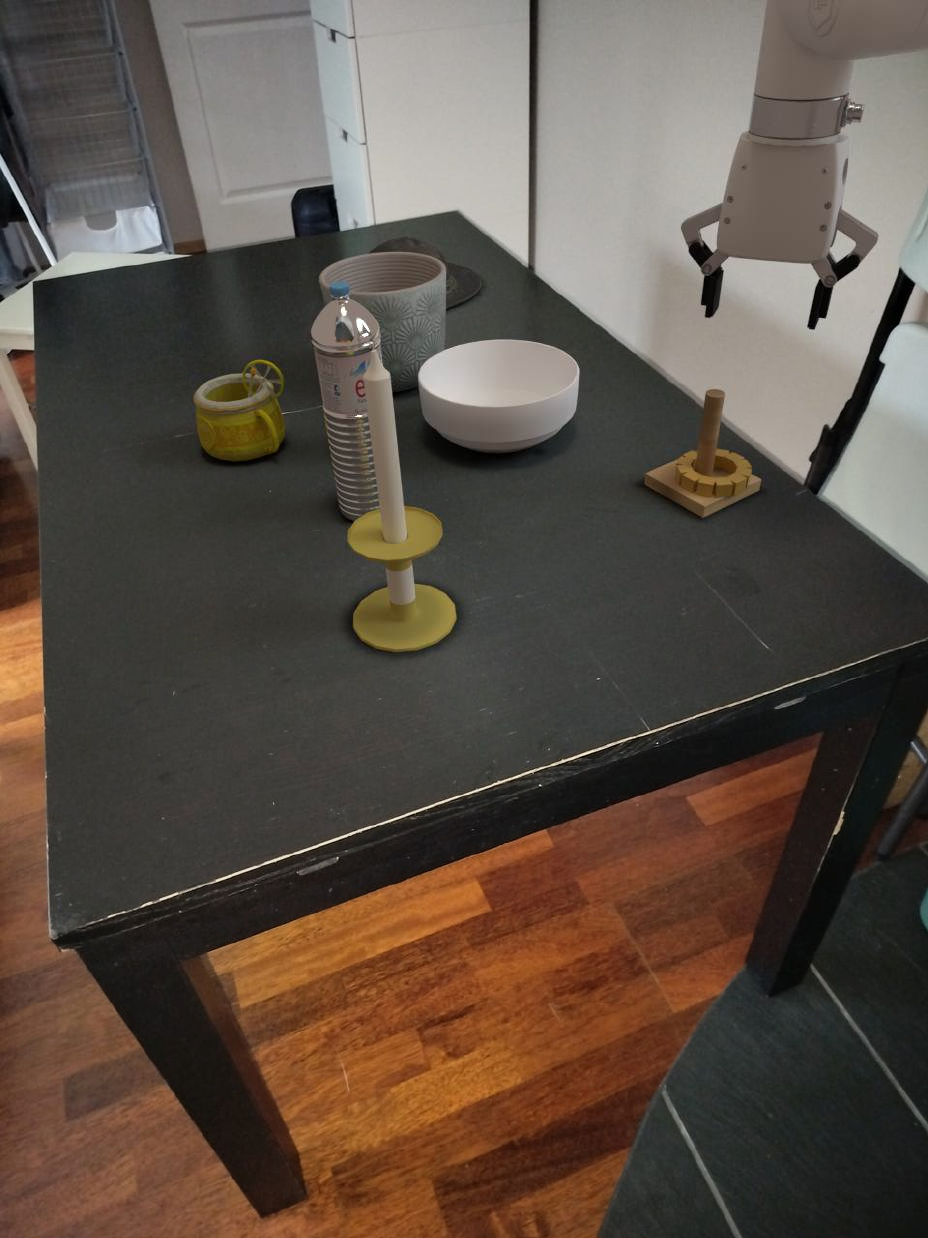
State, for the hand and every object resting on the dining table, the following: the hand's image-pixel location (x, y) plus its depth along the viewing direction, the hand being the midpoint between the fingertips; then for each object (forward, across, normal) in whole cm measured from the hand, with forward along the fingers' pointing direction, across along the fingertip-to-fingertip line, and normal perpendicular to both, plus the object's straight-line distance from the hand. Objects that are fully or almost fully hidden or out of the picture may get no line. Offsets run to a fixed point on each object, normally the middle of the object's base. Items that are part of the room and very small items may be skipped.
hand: (761, 318), depth 84 cm
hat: (+20, +67, -47) cm, 85 cm away
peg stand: (+20, +3, 0) cm, 20 cm away
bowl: (+20, +30, -4) cm, 36 cm away
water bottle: (+20, +37, +18) cm, 45 cm away
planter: (+20, +51, -14) cm, 56 cm away
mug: (+20, +58, +11) cm, 62 cm away
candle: (+20, +24, +33) cm, 45 cm away
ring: (+18, +2, 0) cm, 18 cm away
